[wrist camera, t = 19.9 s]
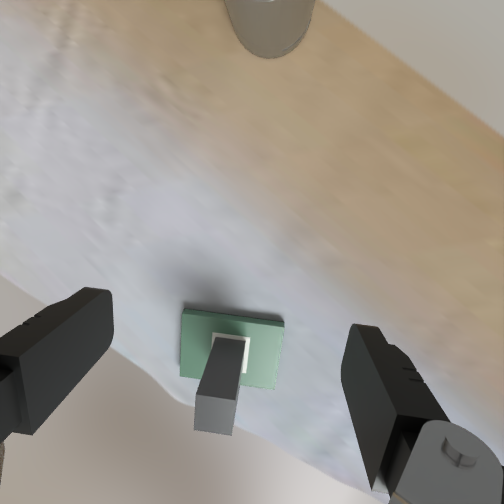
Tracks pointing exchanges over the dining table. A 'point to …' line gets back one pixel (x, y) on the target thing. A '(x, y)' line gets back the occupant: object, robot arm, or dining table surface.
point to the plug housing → (220, 387)
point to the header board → (233, 327)
